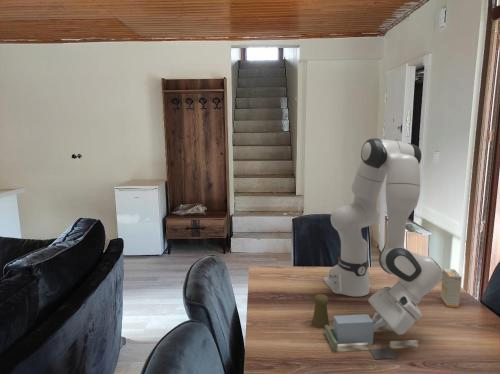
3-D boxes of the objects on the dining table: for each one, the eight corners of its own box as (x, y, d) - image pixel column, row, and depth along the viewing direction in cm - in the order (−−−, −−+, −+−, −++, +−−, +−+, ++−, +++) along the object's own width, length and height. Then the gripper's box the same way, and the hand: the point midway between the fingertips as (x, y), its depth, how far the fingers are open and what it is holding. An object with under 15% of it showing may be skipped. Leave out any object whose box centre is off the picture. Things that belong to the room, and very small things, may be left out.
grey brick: (366, 335, 125) (367, 314, 123) (372, 344, 120) (374, 321, 119) (332, 337, 124) (333, 315, 123) (337, 346, 119) (338, 323, 118)
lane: (394, 321, 134) (395, 314, 133) (426, 356, 113) (427, 347, 113) (320, 325, 132) (320, 317, 131) (339, 361, 111) (339, 352, 110)
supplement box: (459, 308, 144) (462, 276, 142) (446, 306, 145) (449, 275, 142) (452, 298, 152) (455, 268, 150) (440, 297, 153) (442, 268, 150)
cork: (310, 320, 135) (311, 292, 134) (326, 319, 136) (327, 291, 134) (314, 328, 129) (315, 299, 128) (331, 327, 130) (332, 299, 128)
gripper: (382, 279, 131) (354, 305, 131) (411, 306, 110) (379, 337, 111) (393, 290, 132) (366, 316, 132) (424, 319, 111) (392, 350, 112)
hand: (372, 326), depth 122 cm, fingers closed, pressing on grey brick
